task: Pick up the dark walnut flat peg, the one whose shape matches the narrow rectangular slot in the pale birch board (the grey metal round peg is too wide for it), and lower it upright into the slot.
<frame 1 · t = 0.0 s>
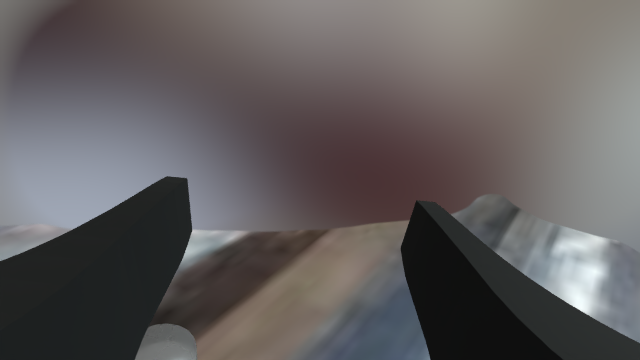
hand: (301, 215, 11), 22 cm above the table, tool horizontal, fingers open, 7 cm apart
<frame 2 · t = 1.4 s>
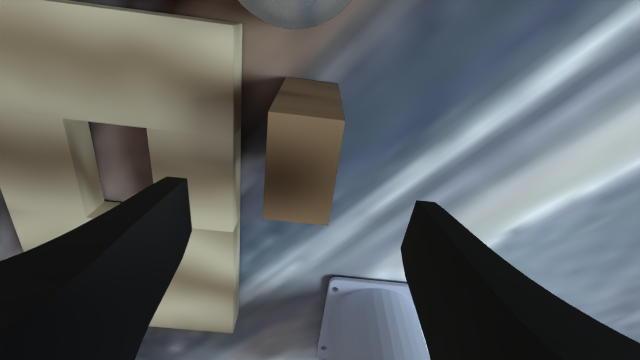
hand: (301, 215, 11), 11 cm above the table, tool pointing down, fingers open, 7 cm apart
slot board: (135, 188, 23), on the table
walnut flat peg: (307, 122, 20), on the table
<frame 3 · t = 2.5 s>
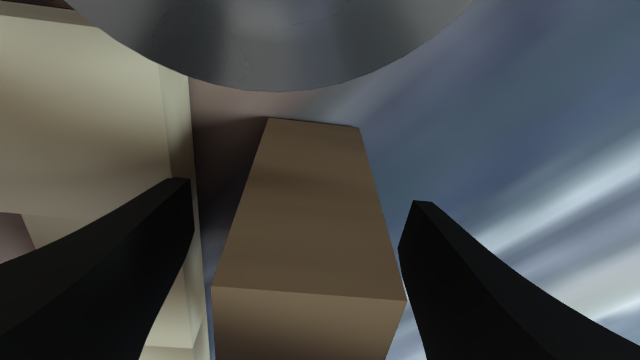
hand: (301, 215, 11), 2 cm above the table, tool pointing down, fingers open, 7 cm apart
slot board: (41, 277, 15), on the table
walnut flat peg: (306, 186, 12), on the table
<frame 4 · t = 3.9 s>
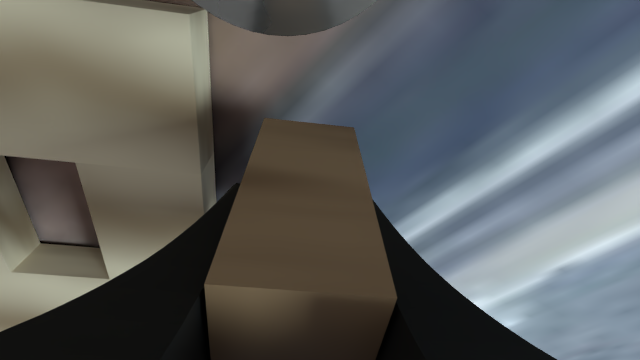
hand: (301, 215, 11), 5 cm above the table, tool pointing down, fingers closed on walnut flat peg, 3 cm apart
slot board: (79, 228, 17), on the table
walnut flat peg: (302, 185, 12), point 3 cm above the table, touching gripper
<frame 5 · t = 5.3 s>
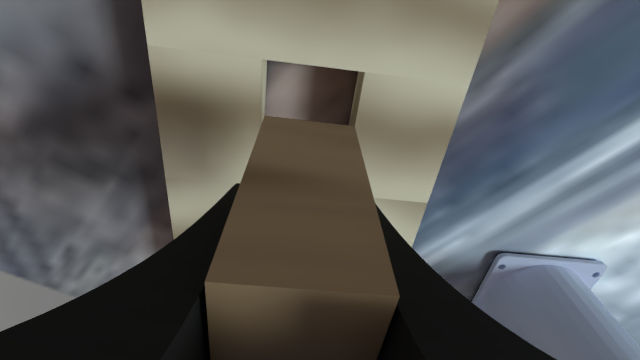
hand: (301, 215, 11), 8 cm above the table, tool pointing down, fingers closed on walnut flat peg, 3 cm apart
slot board: (303, 152, 19), on the table
walnut flat peg: (302, 184, 12), point 6 cm above the table, touching gripper
when the fingers open (3 cm above the table, at t = 6.7 s): walnut flat peg drops 1 cm, resting in slot board.
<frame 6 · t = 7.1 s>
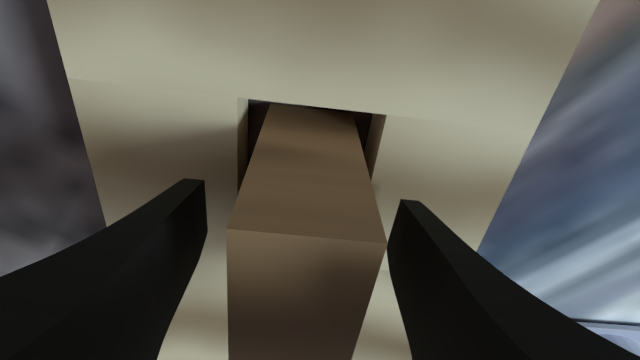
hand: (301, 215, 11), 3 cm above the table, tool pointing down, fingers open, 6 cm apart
slot board: (299, 208, 14), on the table
walnut flat peg: (304, 167, 13), resting in slot board
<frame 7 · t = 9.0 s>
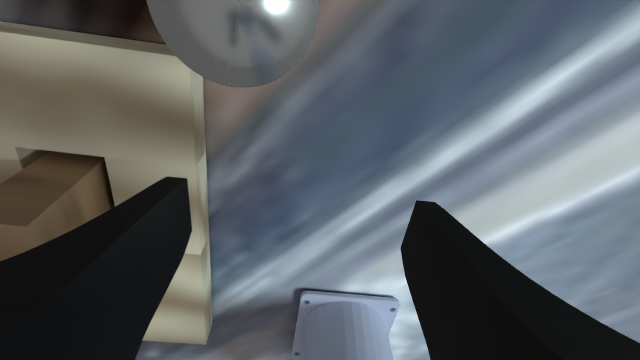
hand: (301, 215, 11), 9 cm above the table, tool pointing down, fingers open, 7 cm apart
slot board: (100, 209, 22), on the table
walnut flat peg: (94, 183, 21), resting in slot board
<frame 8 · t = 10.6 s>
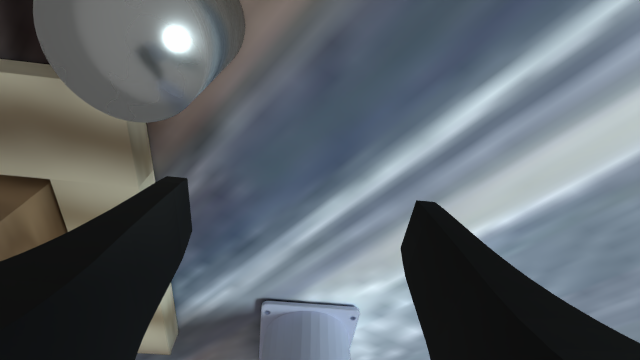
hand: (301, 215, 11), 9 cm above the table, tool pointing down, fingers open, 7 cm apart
slot board: (57, 226, 23), on the table
metal round peg: (193, 20, 16), on the table
walnut flat peg: (49, 202, 22), resting in slot board
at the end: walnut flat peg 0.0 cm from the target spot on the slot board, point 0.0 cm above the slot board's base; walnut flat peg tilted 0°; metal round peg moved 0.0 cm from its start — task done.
